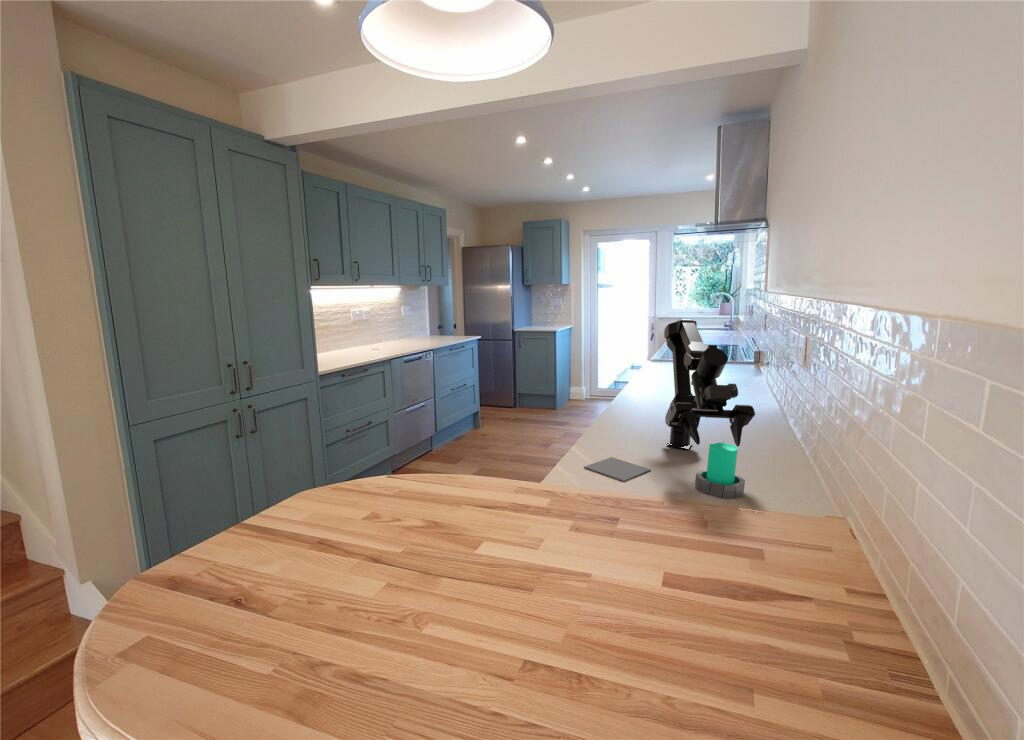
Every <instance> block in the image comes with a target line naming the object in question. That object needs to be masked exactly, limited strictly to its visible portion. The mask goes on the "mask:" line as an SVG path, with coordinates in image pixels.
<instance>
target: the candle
mask: <svg viewBox="0 0 1024 740" xmlns="http://www.w3.org/2000/svg"><path fill="white" fill-rule="evenodd" d="M737 456H738V447H737V446H736V445H735V444H732V443H731V444H730V443H727V442H725V441H723V442H717V443H709V447H708V458H707V466H706V467H707V468H706V469H707V476H706V479H707V480H709V481H712V482H716V483H721V484H734V478H735V474H736V466H737V465H736V464H737Z"/></svg>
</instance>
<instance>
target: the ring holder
mask: <svg viewBox="0 0 1024 740" xmlns="http://www.w3.org/2000/svg"><path fill="white" fill-rule="evenodd" d="M706 476H707V468H706V469H705V468H704V469H702V470H698V471H697V472H696V473H695V481H694V483H695V484H694V487H695V489H696V490H697V491H698V492H700V493H702V494H705V495H707V496H709V497H714V498H719V499H724V500H727V499H728V500H735V499H740V498H743V496H744V494H745V493H744V492H745V485H746V480H745V479H744V478H743V477H742V476H741V475H738V474H736V473H735V478H734V484H721V483H716V482H712V481H709V480H707V479H706Z"/></svg>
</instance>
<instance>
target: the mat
mask: <svg viewBox="0 0 1024 740" xmlns="http://www.w3.org/2000/svg"><path fill="white" fill-rule="evenodd" d="M583 468H584V469H586V470H588V471H591V472H593V473H597V474H600V475H603V476H605V477H609V478H611V479H614V480H616V481H620V482H623V483H625V482H627V481H630V480H633V479H635V478H637V477H639V476H642V475H644V474H647V473H649V472H651V471H652V470H651V469H652V468H649V467H648V468H647V467H645V466H641V465H639V464H635V463H631V462H628V461H625V460H622V459H619V458H617V457H612V456H611V457H607V458H604V459H602V460H599V461H597V462H594V463H591V464H588V465H585V466H584V467H583Z"/></svg>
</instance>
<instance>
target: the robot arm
mask: <svg viewBox="0 0 1024 740" xmlns="http://www.w3.org/2000/svg"><path fill="white" fill-rule="evenodd" d="M663 335H664V339H665V342H666V343H665V344H666V346H667V348H668V349H669V350H670V351H671V353H672V366H673V384H674V396H673V399H672V400H671V402H670V403H669V407H668V409H667V412H666V414H665V419H664V420H665V425H666V426H668V427H669V428H670V432H669V433H670V435H669V441H670V444H672V445H670V444H669V443H668V442H667V443H666V445H667V444H669V445H670V446H675V447H684V446H688V445H690V443H691V439H692V440H693V441H694V444H696V445H698V446H699V445H700V443H701V440H700V434H699V431H698V428H699V426H700V421H701V418H709V419H710V418H712V419H713V418H714V419H729V423H730V425H729V428H730V431H731V434H732V438H733V441H734V445H735V446H737V448H738V447H739V446H740V445H741V441H742V432H743V428H744V427H746V426H748V425H749V423H750V422H751V420H753V418H754V417H755V416H756V412H755V408H754V407H753V406H752V405H750V404H735V405H734V407H733V408H732V409H724V407H726V406H728V405H727V404H728V401H729V400H732V399H735V398H737V397H738V396H739V389H738V386H737V383H728V384H718V382H717V379H718V378H720V376H721V374H722V372H723V370H724V368H725V366H726V365H727V364H728V361H729V356H728V354H727V353H726V352H725V351H724V350H722V349H720V348H718V345H717V344H705V343H704V341H703V339H702V336H701V334H700V331H699V330H698V327H697V320H694V319H688V318H687V319H685V318H683V319H681V318H680V319H678V320H677V321H675V322H674V321H673V322H671V323H668V324H667V325H666V326H665V328H664V333H663ZM691 371H693V372H692V373H691V375H690V372H691ZM691 385H692V387H693V392H694V394H693V393H692V388H691ZM675 447H674V448H675Z"/></svg>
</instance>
